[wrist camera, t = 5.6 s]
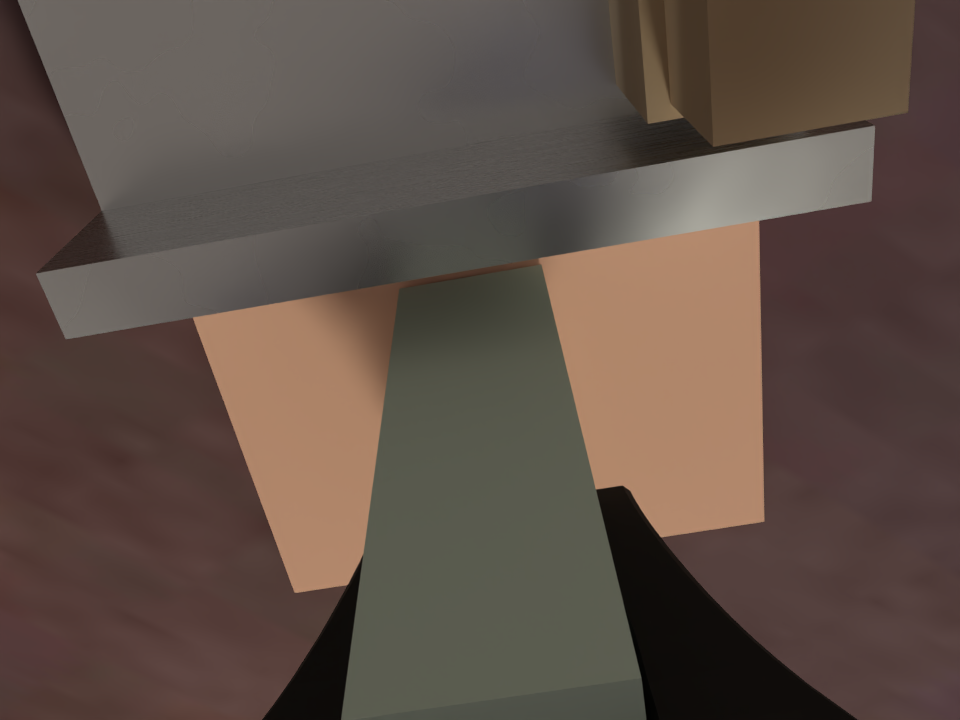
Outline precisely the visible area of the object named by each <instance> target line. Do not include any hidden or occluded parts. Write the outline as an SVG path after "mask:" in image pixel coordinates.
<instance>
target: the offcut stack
mask: <svg viewBox="0 0 960 720" xmlns="http://www.w3.org/2000/svg"><path fill="white" fill-rule="evenodd" d="M608 4H609V14H610V25H611V36H612V46H613V57H614V68H615V78H616V85H617V86H618V88H619V89H620V90H621V91H622V93H623V94H624V95H625V96H626V98H627V99H628V100H629V101H630V102H631V104H632V105H633V106H634V107H635V109H636V110H637V111H638V112H639V114H640V115H641V116H642V117H643V119H644V120H645V121H646V122H647V123H648V124H651V123H656V122H662V121H668V120H673V119H679V118H685V119H686V120H687V121H688V122H689V123H690V124H691V125H692V126H693V127H694V128H695V129H696V130H697V131H698V132H699V133H700V134H701V135H702V136H703V137H704V138H705V139H706V140H707V141H708V142H709V143H710V144H711V145H712V146H713V147H716V146H721V145H727V144H733V143H738V142H744V141H750V140H755V139H761V138H767V137H772V136H778V135H784V134H789V133H795V132H801V131H806V130H812V129H818V128H823V127H829V126H835V125H840V124H846V123H852V122H857V121H863V120H869V119H874V118H880V117H886V116H891V115H897V114H903V113H908V102H909V87H910V72H911V56H912V41H913V26H914V11H915V0H608Z"/></svg>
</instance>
